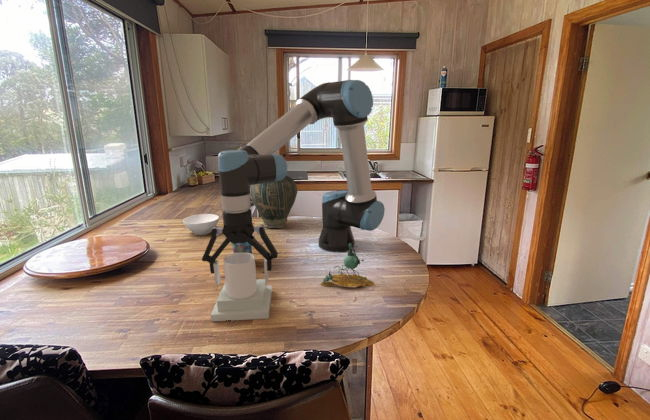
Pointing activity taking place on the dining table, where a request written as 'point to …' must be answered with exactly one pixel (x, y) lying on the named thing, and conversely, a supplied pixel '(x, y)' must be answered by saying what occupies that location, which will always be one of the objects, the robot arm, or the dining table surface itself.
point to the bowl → (201, 223)
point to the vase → (274, 201)
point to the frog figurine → (348, 280)
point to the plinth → (244, 313)
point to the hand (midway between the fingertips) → (242, 282)
